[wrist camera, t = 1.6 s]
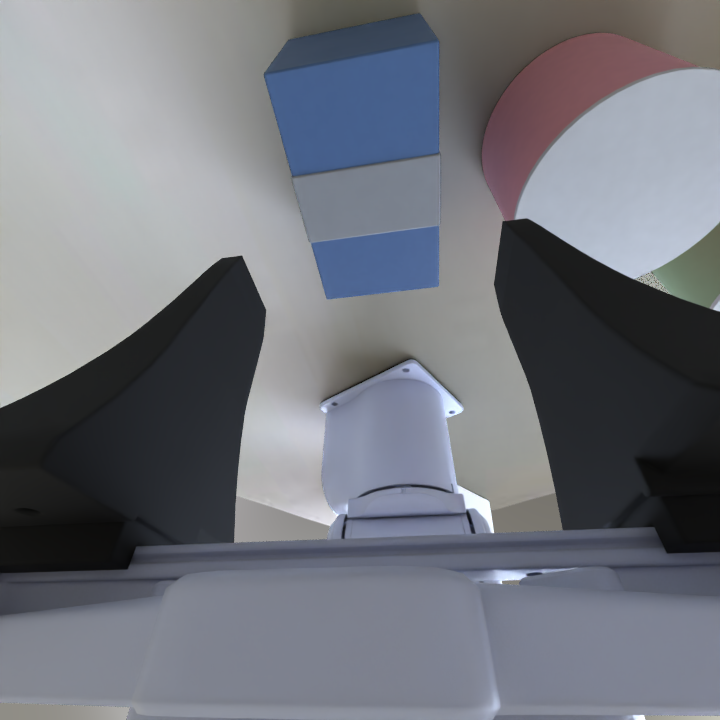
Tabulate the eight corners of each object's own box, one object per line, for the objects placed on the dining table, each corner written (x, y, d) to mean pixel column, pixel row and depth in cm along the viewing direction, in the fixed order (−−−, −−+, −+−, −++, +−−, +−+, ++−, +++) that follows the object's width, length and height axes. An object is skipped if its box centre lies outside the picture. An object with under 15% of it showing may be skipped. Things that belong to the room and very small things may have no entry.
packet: (427, 225, 20) (440, 287, 16) (332, 238, 21) (325, 301, 17) (422, 11, 14) (441, 39, 10) (286, 39, 14) (260, 73, 11)
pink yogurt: (515, 239, 20) (552, 316, 16) (450, 121, 16) (479, 185, 12) (670, 150, 17) (767, 218, 13) (638, -28, 13) (767, -10, 9)
